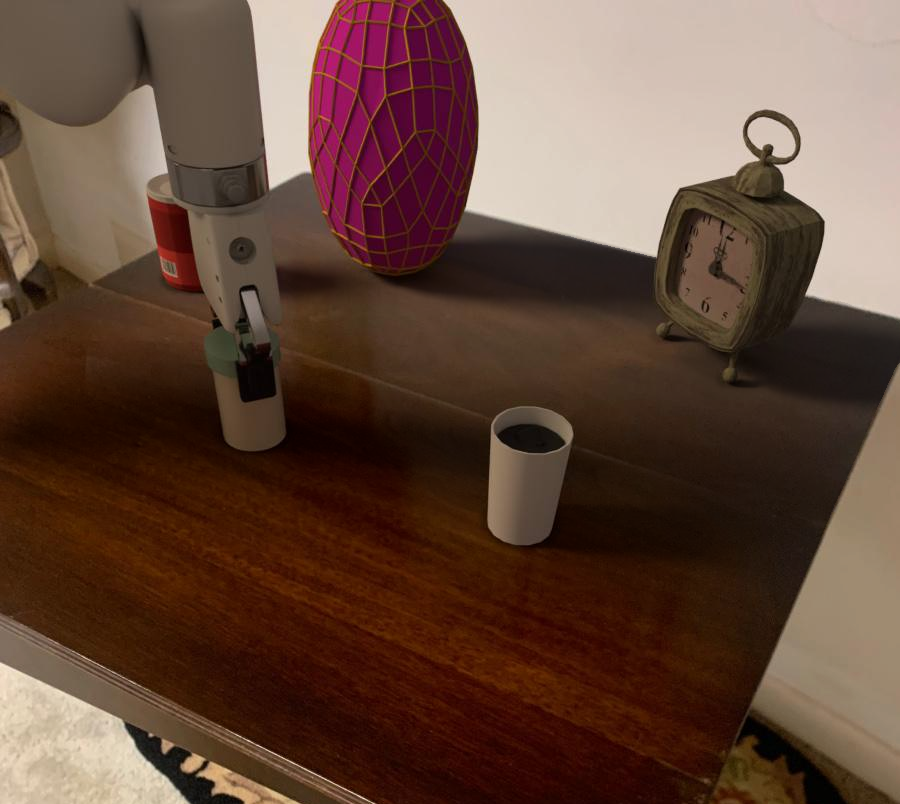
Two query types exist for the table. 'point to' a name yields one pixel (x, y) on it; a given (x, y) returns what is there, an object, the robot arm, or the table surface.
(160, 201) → the canned food
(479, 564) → the table surface
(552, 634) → the table surface
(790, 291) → the tabletop clock
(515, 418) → the white cup
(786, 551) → the table surface
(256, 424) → the jar
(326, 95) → the decorative egg
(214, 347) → the lid
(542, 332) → the table surface
